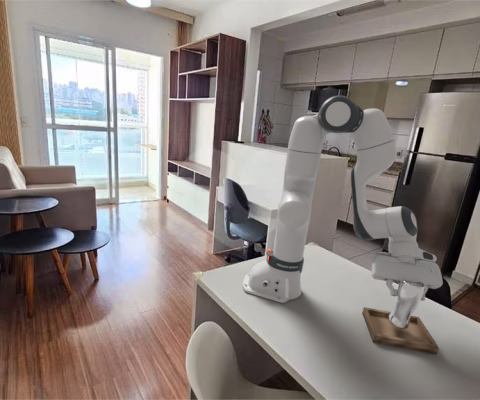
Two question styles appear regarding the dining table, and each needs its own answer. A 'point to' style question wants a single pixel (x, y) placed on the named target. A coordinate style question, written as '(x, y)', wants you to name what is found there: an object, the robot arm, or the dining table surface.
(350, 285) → the dining table surface
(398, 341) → the walnut tray
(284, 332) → the dining table surface
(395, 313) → the beer glass
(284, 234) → the robot arm
